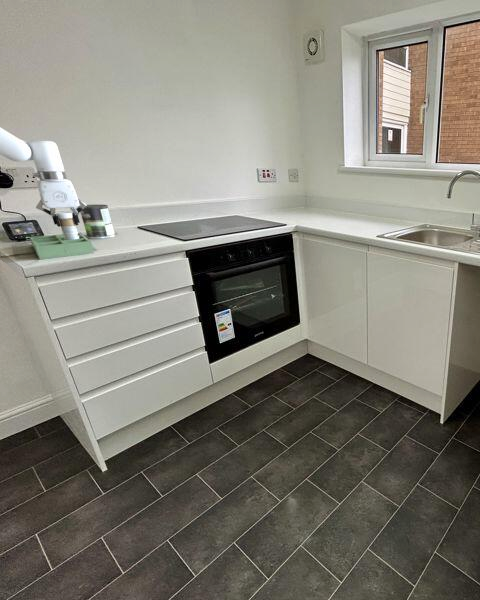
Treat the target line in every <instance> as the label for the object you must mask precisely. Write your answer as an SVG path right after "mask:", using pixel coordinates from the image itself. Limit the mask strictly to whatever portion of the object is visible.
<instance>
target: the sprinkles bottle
mask: <svg viewBox="0 0 480 600" xmlns="http://www.w3.org/2000/svg"><path fill="white" fill-rule="evenodd" d="M56 216H58V219H59V222H60V228H61V233H62V234H63V236H64V239H65V240H72V239H79V235H78V233H79V232H78V229H77V225H75V223H74V220H73V212H67V211H66V212H57V213H56Z"/></svg>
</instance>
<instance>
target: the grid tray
mask: <svg viewBox="0 0 480 600" xmlns="http://www.w3.org/2000/svg"><path fill="white" fill-rule="evenodd" d="M78 235H79V239H72V240H65V239H64V236H63V233H62V234H61V233H60V234H50V235H37V236H29V241H30V243H31V247H32V248H33V250H34V251H35V254H36V256H37V257H38V259H39V260H49V259H55V258H56V259H57V258H64V257H72V256H73V257H74V256H80V255H81V256H82V255H88V254H95V250H94V247H93V244H92V241H91V240H90V238H87V236H85V235H84V234H83V233H82V232H78Z"/></svg>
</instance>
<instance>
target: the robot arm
mask: <svg viewBox="0 0 480 600" xmlns="http://www.w3.org/2000/svg"><path fill="white" fill-rule="evenodd" d="M0 155H1V156H3V157H4V158H6V159H7V160H9V161H13V162H17V163H18V162H19V163H20V162H21V163H22V162H27V161H33V162H34V166H35V169H36V172H33V173H32V177H33V178H38V179H39V180H37V186H38V192H39V196H40V200H39V201H38V202H37V204H36V206H35V208H36V209H37V210H39V211H42V212H44V213H45V214H47V215H49V216H51V219H52V221H53V224H54V225H56V226H57V227H58V228H61V225H60V222H59V219H58V216H57V213H56V209H70V211H71V213H72V215H73V220H74V223H75V226H79V223H81V221H80V218H79V214H80V211H81V210H82V209H84V208H85V207H86V206H87V205H88V204H86V203H84V202H83V201H82V200H81V199H79V198H78V195H77V192H76V189H75V187H74V185H73V183H72V181H71V180H69V179H68V178H67V174H66V171H65V168H64V164H63V161H62V157H61V154H60V151H59V147H58V145H57V143H55V142H54V141H51V140H41V139H39V140H38V139H33V140H32V139H31V140H26V139H25V140H23V139H20V138H18V137H17V136H15V135H13V134H12V133H10V132H9V131H7V130H5V129H4V128H2V127H0ZM43 206H44V207H43ZM78 206H79V207H78Z"/></svg>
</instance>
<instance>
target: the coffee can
mask: <svg viewBox="0 0 480 600" xmlns="http://www.w3.org/2000/svg"><path fill="white" fill-rule="evenodd" d="M86 205H87V206H86V207H85V208H84V209H82V210H81V211H80V212H79V214H80V216H81V220H82V222H83V223H82V224H83V226H84V230H85V233H86V238H87V239H92V240H97V239H100V240H101V239H102V240H103V239H111V238H114V237H116V233H115V230H114V225H113V222H112V218H111V213H110V211H109V205H108V204H86ZM79 206H80V205H79ZM79 206H78V207H79ZM78 207H77V208H78Z"/></svg>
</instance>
